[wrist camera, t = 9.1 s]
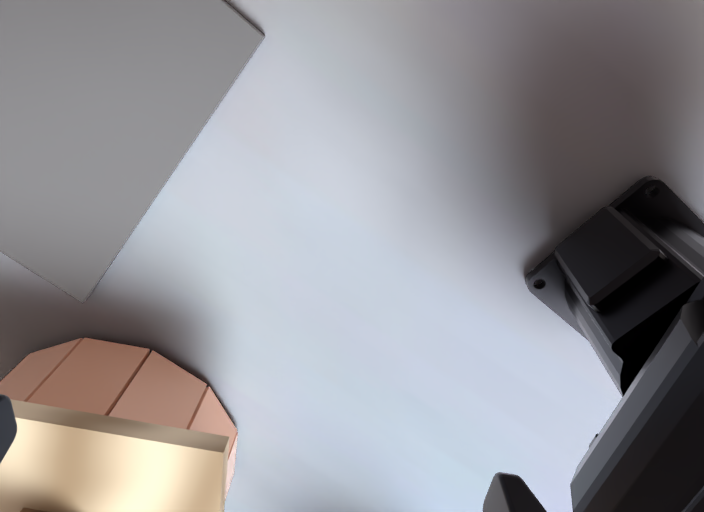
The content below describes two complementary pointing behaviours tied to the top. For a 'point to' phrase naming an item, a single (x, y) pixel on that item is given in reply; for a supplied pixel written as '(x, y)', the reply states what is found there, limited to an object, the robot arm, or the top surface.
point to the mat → (102, 119)
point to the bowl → (120, 388)
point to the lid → (109, 465)
